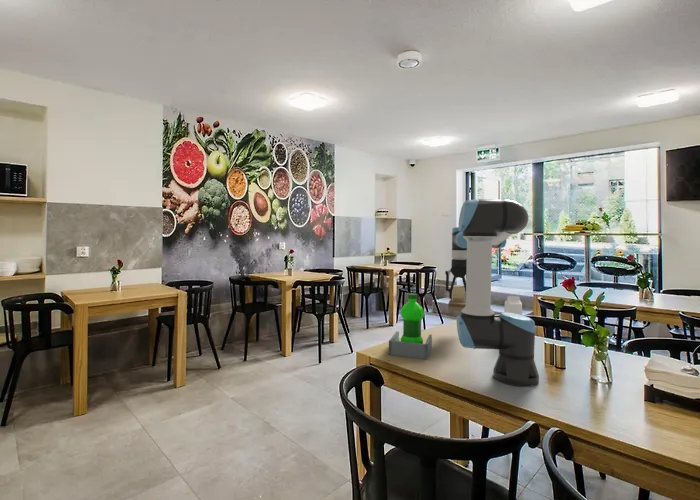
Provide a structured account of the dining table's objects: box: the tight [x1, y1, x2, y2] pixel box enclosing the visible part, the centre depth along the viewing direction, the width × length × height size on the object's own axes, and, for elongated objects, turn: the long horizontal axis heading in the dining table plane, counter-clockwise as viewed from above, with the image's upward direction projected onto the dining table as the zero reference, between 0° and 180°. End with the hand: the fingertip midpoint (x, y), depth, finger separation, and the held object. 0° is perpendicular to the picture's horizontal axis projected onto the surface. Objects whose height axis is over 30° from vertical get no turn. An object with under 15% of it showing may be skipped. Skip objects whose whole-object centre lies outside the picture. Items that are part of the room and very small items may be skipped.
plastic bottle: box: [400, 293, 425, 344], centre depth 167 cm, size 10×10×25 cm
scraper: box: [447, 284, 466, 312], centre depth 184 cm, size 28×8×10 cm, turn 162°
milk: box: [503, 295, 523, 315], centre depth 180 cm, size 6×6×22 cm
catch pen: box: [388, 331, 433, 360], centre depth 165 cm, size 16×16×6 cm
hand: (458, 305), depth 184 cm, fingers closed on scraper, 5 cm apart
